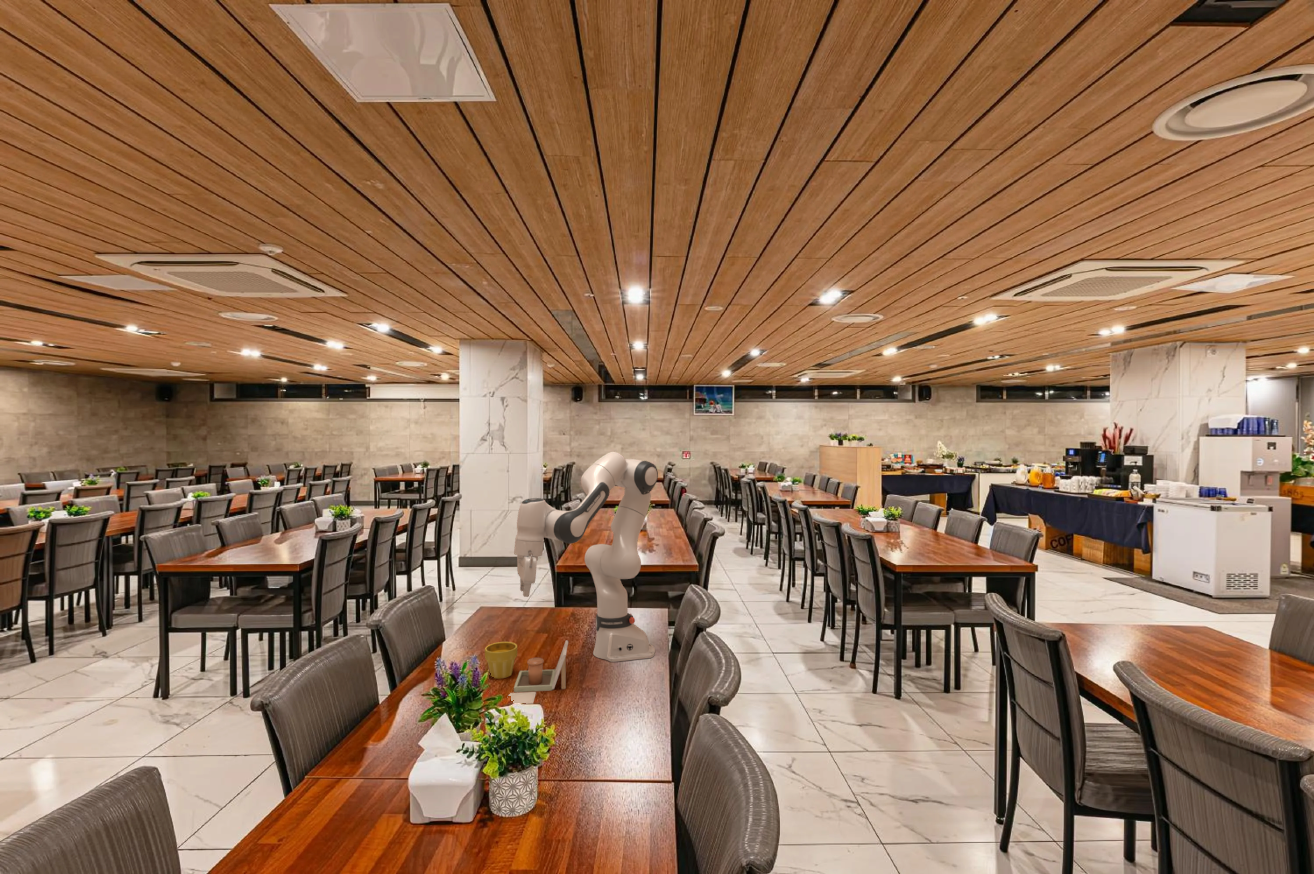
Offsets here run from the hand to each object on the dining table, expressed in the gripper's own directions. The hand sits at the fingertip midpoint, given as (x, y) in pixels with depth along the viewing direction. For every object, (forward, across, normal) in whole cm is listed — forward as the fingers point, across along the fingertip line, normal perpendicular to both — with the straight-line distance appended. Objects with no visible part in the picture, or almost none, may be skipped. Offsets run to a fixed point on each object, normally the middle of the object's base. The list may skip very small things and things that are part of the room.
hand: (524, 593), depth 192 cm
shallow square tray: (+29, +3, -6) cm, 30 cm away
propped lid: (+28, +1, -14) cm, 31 cm away
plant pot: (+30, +13, +3) cm, 33 cm away
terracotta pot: (+28, +3, -6) cm, 29 cm away
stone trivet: (+30, -8, -1) cm, 31 cm away
